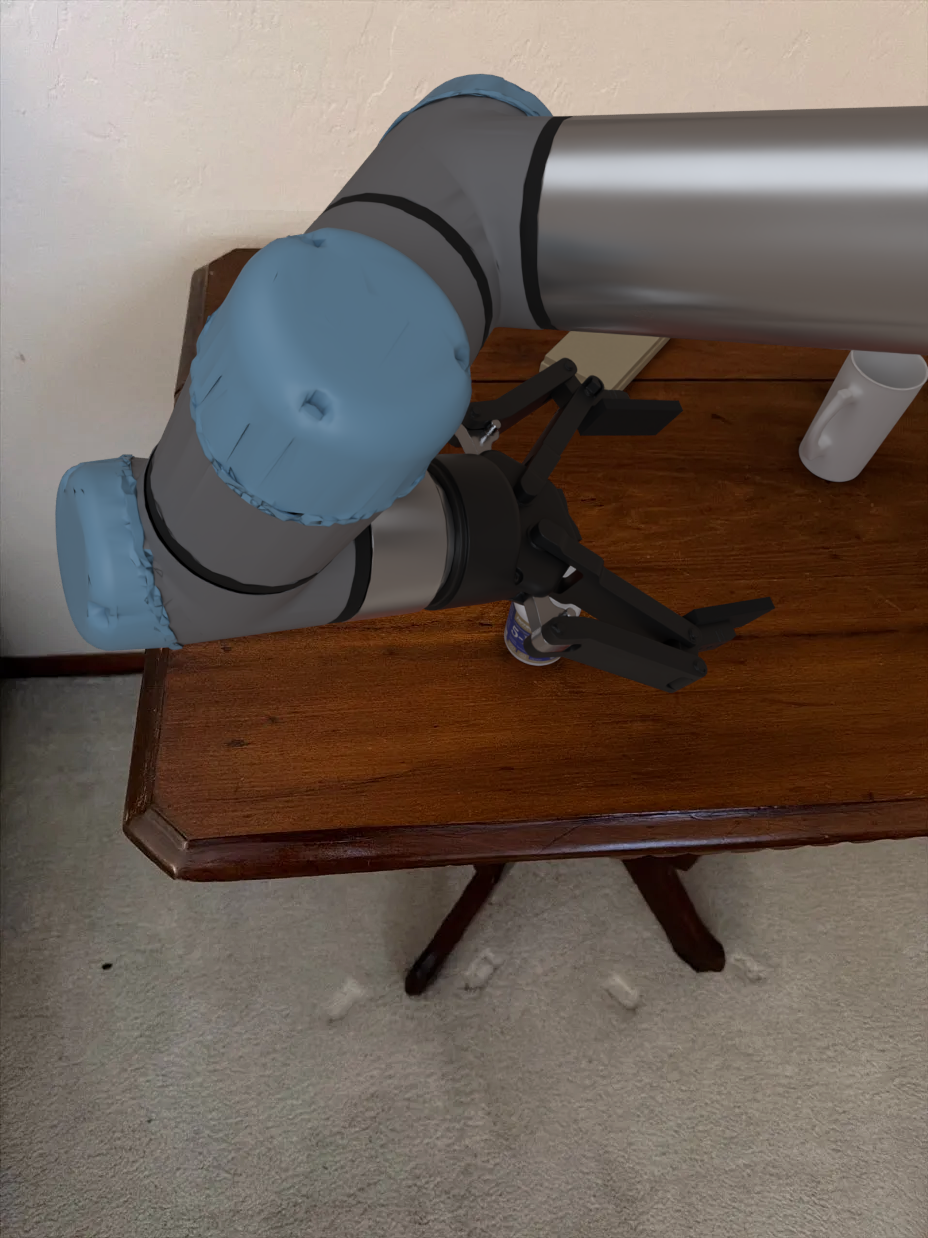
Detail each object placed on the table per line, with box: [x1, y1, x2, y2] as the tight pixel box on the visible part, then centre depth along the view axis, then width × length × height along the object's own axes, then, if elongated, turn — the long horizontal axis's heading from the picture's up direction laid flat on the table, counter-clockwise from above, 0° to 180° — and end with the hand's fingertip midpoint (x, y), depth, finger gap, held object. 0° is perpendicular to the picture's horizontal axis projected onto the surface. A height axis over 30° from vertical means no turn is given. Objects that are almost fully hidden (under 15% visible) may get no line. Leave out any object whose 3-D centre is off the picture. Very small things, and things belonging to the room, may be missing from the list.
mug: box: [798, 350, 928, 483], centre depth 80 cm, size 10×7×12 cm, turn 124°
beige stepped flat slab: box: [538, 331, 671, 391], centre depth 91 cm, size 8×14×2 cm, turn 145°
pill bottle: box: [503, 566, 582, 667], centre depth 68 cm, size 5×5×9 cm
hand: (710, 511), depth 54 cm, fingers open, 13 cm apart
